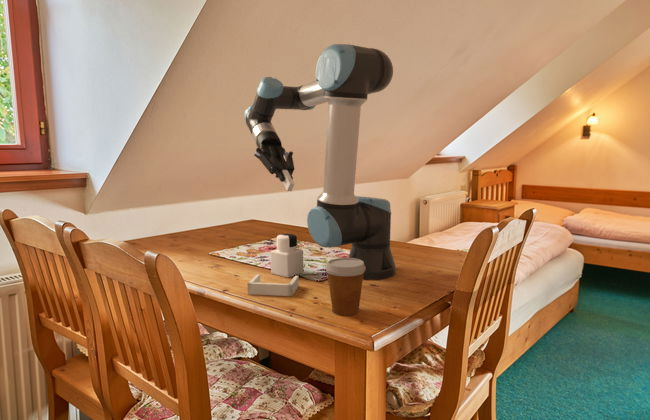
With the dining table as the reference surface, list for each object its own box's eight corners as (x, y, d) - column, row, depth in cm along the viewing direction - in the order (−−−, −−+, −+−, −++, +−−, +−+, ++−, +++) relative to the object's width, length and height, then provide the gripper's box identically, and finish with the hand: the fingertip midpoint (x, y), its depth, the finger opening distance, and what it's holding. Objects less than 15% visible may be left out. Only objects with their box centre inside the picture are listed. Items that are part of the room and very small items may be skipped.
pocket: (298, 286, 135) (298, 275, 135) (292, 296, 127) (291, 285, 126) (257, 284, 137) (256, 274, 137) (247, 294, 129) (247, 283, 128)
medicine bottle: (287, 268, 153) (286, 231, 151) (303, 272, 148) (303, 234, 146) (270, 273, 147) (269, 235, 145) (287, 278, 143) (287, 238, 141)
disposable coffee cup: (348, 321, 110) (348, 270, 108) (317, 311, 116) (317, 262, 114) (373, 310, 117) (373, 261, 115) (342, 301, 123) (342, 255, 121)
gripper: (281, 150, 162) (305, 197, 148) (244, 147, 156) (266, 196, 141) (288, 132, 158) (314, 179, 143) (251, 127, 151) (274, 176, 136)
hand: (290, 187), depth 142 cm, fingers closed
